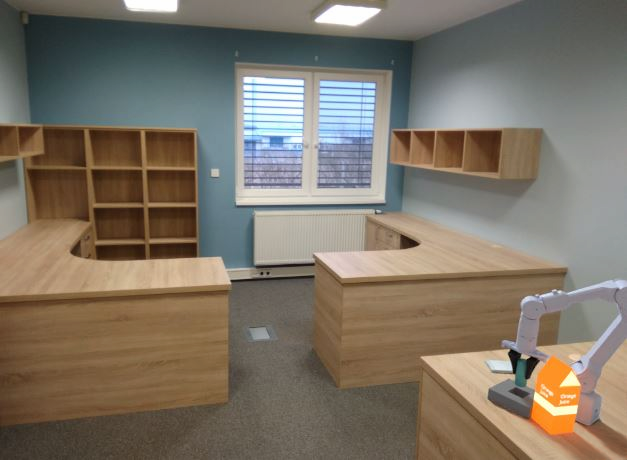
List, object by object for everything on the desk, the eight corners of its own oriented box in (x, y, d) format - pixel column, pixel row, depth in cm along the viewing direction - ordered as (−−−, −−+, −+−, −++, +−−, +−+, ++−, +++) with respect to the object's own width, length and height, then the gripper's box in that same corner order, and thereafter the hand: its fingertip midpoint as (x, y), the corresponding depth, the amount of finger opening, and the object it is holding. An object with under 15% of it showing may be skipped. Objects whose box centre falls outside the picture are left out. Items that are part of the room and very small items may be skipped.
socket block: (548, 406, 159) (550, 396, 159) (528, 418, 152) (530, 408, 151) (507, 388, 170) (508, 378, 169) (487, 398, 162) (488, 388, 162)
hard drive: (518, 360, 189) (484, 359, 189) (526, 371, 181) (491, 369, 181) (517, 365, 189) (484, 363, 189) (526, 375, 181) (491, 373, 181)
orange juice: (550, 434, 144) (560, 369, 140) (530, 417, 153) (539, 355, 149) (573, 432, 146) (584, 368, 142) (552, 415, 155) (562, 354, 151)
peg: (528, 384, 160) (531, 361, 158) (523, 388, 157) (526, 364, 156) (517, 380, 162) (520, 357, 160) (512, 384, 160) (515, 360, 158)
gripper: (556, 340, 154) (550, 381, 156) (511, 324, 164) (506, 363, 167) (546, 345, 149) (539, 388, 152) (500, 329, 160) (495, 369, 162)
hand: (521, 375), depth 159 cm, fingers closed on peg, 3 cm apart
